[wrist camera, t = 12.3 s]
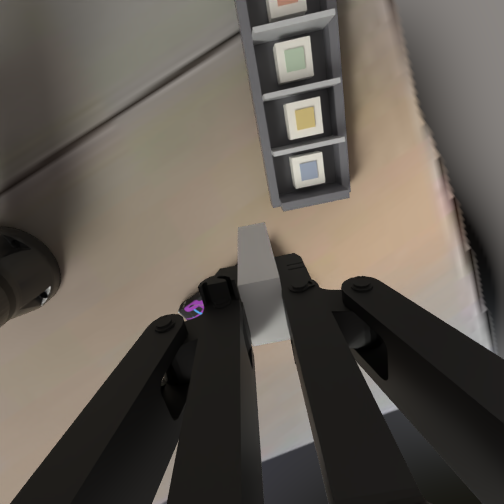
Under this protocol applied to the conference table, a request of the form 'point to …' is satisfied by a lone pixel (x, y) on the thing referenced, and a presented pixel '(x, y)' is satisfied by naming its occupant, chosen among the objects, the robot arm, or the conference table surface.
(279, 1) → the key
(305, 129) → the key
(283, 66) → the key
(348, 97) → the conference table surface
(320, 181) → the key
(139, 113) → the conference table surface
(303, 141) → the keypad
